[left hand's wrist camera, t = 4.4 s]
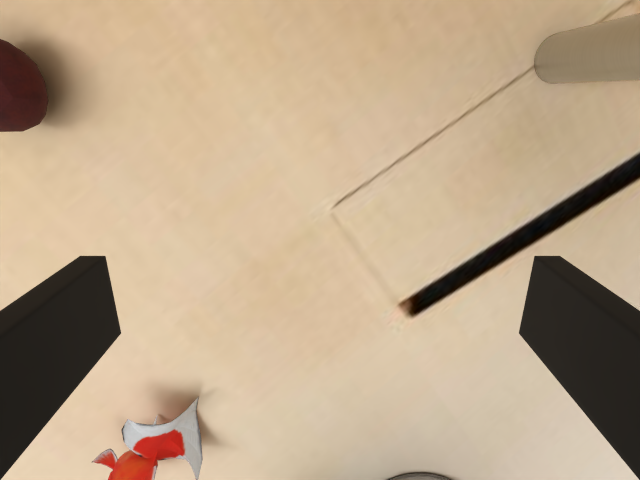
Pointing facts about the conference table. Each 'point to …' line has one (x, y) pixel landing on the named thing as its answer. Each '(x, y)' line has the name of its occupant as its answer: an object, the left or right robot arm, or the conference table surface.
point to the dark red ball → (20, 90)
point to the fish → (156, 447)
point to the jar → (592, 53)
